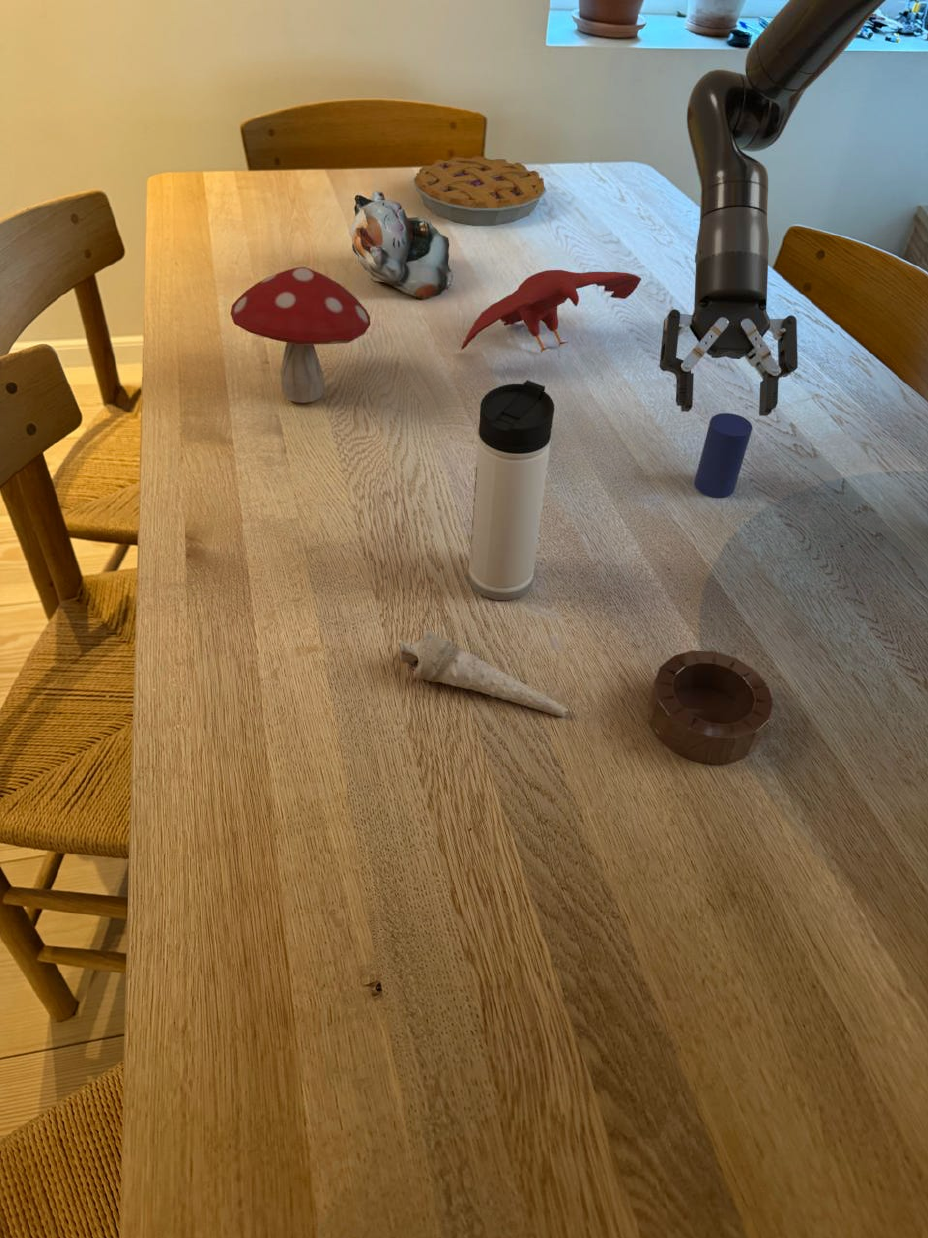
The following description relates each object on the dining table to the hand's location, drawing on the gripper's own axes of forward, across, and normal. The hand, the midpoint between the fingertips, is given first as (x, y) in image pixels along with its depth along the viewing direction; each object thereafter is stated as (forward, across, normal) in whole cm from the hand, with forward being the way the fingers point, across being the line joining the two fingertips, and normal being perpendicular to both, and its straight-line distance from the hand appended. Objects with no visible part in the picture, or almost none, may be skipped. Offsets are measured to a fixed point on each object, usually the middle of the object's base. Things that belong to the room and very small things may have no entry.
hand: (726, 412), depth 103 cm
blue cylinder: (+7, 0, +4) cm, 8 cm away
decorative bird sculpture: (-14, -18, +26) cm, 35 cm away
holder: (+32, -7, -20) cm, 38 cm away
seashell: (+30, -26, -18) cm, 43 cm away
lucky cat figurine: (-26, -37, +37) cm, 58 cm away
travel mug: (+20, -24, -8) cm, 32 cm away
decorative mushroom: (-4, -47, +15) cm, 50 cm away
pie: (-48, -26, +60) cm, 81 cm away
